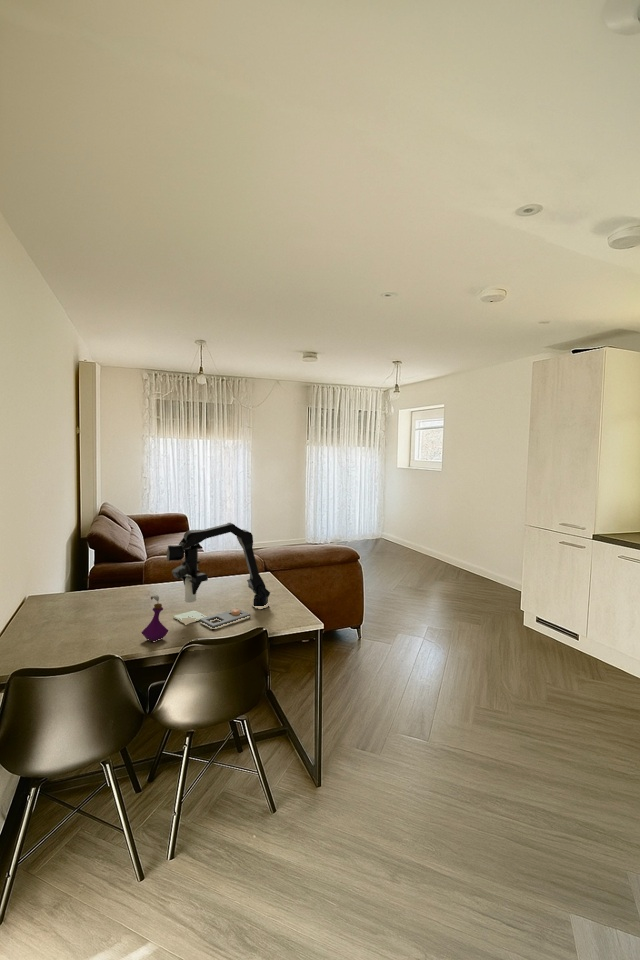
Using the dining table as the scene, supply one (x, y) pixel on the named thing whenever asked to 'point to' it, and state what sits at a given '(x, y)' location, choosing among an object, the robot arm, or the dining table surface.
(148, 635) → the perfume bottle
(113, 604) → the dining table surface
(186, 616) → the sage pad
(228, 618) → the dark grey base plate
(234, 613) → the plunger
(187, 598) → the cylinder
